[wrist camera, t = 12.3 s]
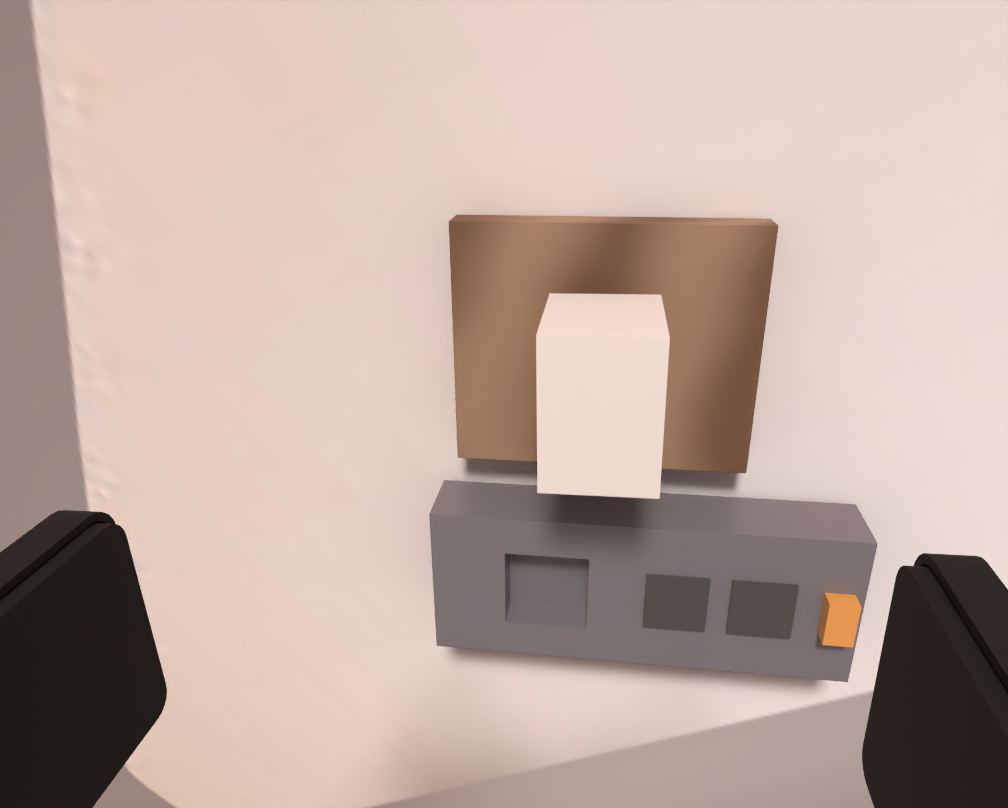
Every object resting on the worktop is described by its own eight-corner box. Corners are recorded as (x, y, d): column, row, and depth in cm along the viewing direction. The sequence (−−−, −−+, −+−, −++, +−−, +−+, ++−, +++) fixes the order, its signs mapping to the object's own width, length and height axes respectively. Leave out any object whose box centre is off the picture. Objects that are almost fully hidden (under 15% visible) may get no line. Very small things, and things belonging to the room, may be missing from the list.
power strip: (855, 504, 32) (884, 555, 29) (829, 635, 35) (852, 695, 32) (444, 480, 35) (425, 524, 31) (449, 604, 38) (432, 657, 34)
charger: (659, 284, 28) (669, 337, 23) (651, 417, 31) (659, 499, 25) (552, 283, 29) (536, 335, 23) (552, 414, 31) (537, 493, 25)
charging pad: (770, 218, 28) (778, 225, 27) (740, 456, 32) (745, 473, 31) (456, 214, 30) (448, 221, 29) (464, 442, 34) (457, 457, 33)
